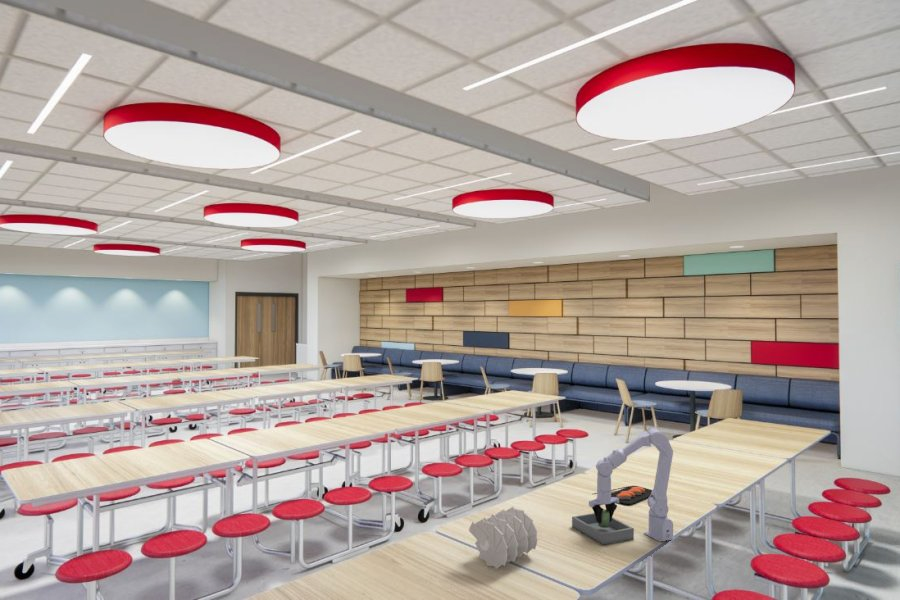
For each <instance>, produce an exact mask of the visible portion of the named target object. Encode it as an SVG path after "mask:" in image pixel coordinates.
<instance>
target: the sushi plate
mask: <svg viewBox="0 0 900 600" xmlns="http://www.w3.org/2000/svg"><path fill="white" fill-rule="evenodd" d="M652 490H653V489H649V488H646V487H642V486H638V485H630V486H629V485H628V486H624V487H623V486H622V487H619V488H613V489H611V497H617V498H619V504H620V503H621V504H624V505H633V504H635V503H637V502H639V501H642V500H645V499H648V498H649V497H650V495H651V491H652ZM593 495H597V492H594V493H593Z"/></svg>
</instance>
